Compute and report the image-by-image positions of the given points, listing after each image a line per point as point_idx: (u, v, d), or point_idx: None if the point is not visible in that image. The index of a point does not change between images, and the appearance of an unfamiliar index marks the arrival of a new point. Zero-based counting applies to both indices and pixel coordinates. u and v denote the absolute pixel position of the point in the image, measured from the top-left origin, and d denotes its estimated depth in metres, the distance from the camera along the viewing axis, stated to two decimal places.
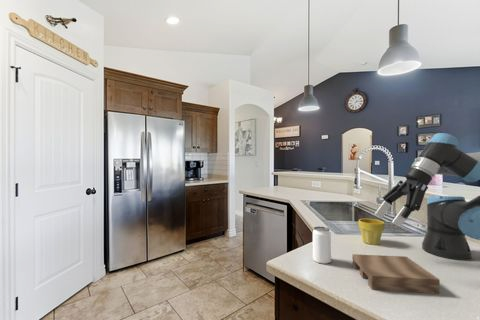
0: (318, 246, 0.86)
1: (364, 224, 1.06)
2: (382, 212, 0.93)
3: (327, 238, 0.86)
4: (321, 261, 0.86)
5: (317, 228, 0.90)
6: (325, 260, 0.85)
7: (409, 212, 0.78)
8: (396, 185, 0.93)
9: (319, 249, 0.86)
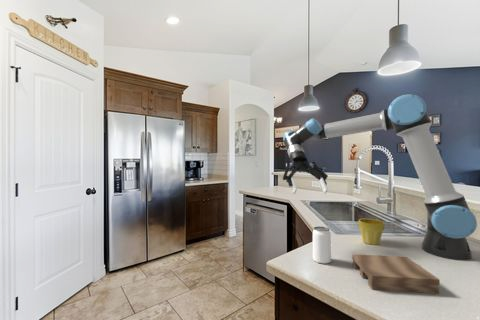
0: (318, 246, 0.86)
1: (364, 224, 1.06)
2: (323, 187, 1.01)
3: (327, 238, 0.86)
4: (321, 261, 0.86)
5: (317, 228, 0.90)
6: (325, 260, 0.85)
7: (288, 180, 1.01)
8: (314, 169, 1.10)
9: (319, 249, 0.86)
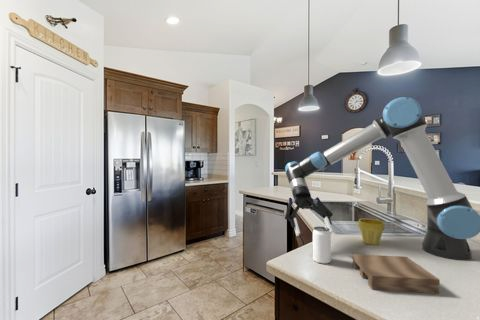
0: (318, 246, 0.86)
1: (364, 224, 1.06)
2: (328, 227, 0.95)
3: (327, 238, 0.86)
4: (321, 261, 0.86)
5: (317, 228, 0.90)
6: (325, 260, 0.85)
7: (291, 221, 0.95)
8: None
9: (319, 249, 0.86)
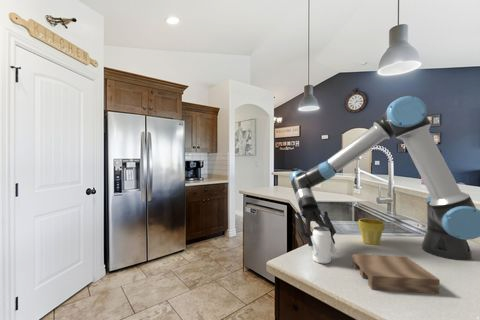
0: (318, 246, 0.86)
1: (364, 224, 1.06)
2: (331, 247, 0.88)
3: (327, 238, 0.86)
4: (321, 261, 0.86)
5: (317, 228, 0.90)
6: (325, 260, 0.85)
7: (307, 239, 0.89)
8: None
9: (319, 249, 0.86)
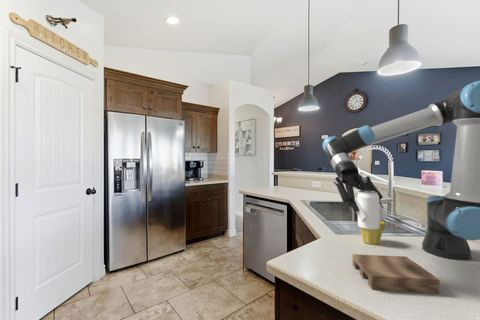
0: (365, 210, 0.77)
1: None
2: (380, 212, 0.78)
3: (376, 201, 0.76)
4: (370, 227, 0.76)
5: None
6: (374, 226, 0.76)
7: (352, 204, 0.79)
8: (367, 185, 0.88)
9: (367, 214, 0.76)
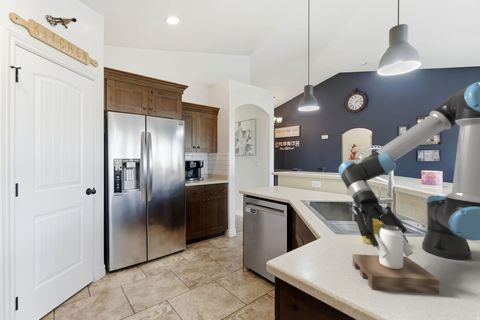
0: (389, 248, 0.73)
1: None
2: (405, 247, 0.75)
3: (400, 239, 0.73)
4: (394, 266, 0.73)
5: (385, 227, 0.77)
6: (398, 265, 0.72)
7: (371, 238, 0.76)
8: None
9: (390, 252, 0.73)
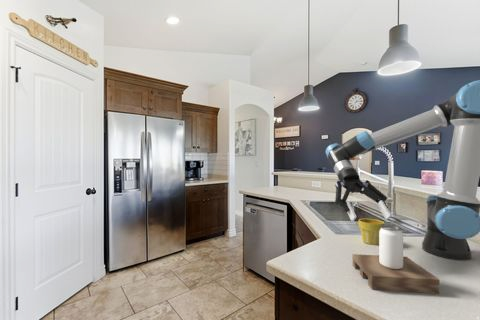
0: (388, 248, 0.73)
1: (364, 224, 1.06)
2: (385, 211, 0.86)
3: (400, 239, 0.73)
4: (394, 266, 0.73)
5: (384, 227, 0.77)
6: (398, 265, 0.72)
7: (343, 205, 0.86)
8: (368, 188, 0.95)
9: (390, 252, 0.73)
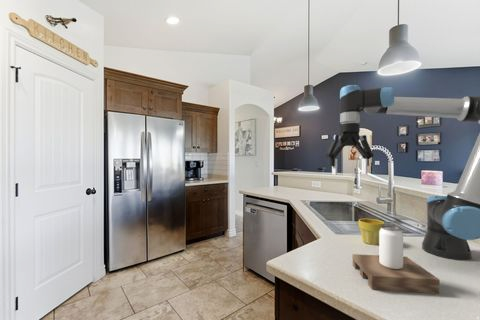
0: (388, 248, 0.73)
1: (364, 224, 1.06)
2: (364, 169, 1.00)
3: (400, 239, 0.73)
4: (394, 266, 0.73)
5: (384, 227, 0.77)
6: (398, 265, 0.72)
7: (331, 160, 0.98)
8: None
9: (390, 252, 0.73)
